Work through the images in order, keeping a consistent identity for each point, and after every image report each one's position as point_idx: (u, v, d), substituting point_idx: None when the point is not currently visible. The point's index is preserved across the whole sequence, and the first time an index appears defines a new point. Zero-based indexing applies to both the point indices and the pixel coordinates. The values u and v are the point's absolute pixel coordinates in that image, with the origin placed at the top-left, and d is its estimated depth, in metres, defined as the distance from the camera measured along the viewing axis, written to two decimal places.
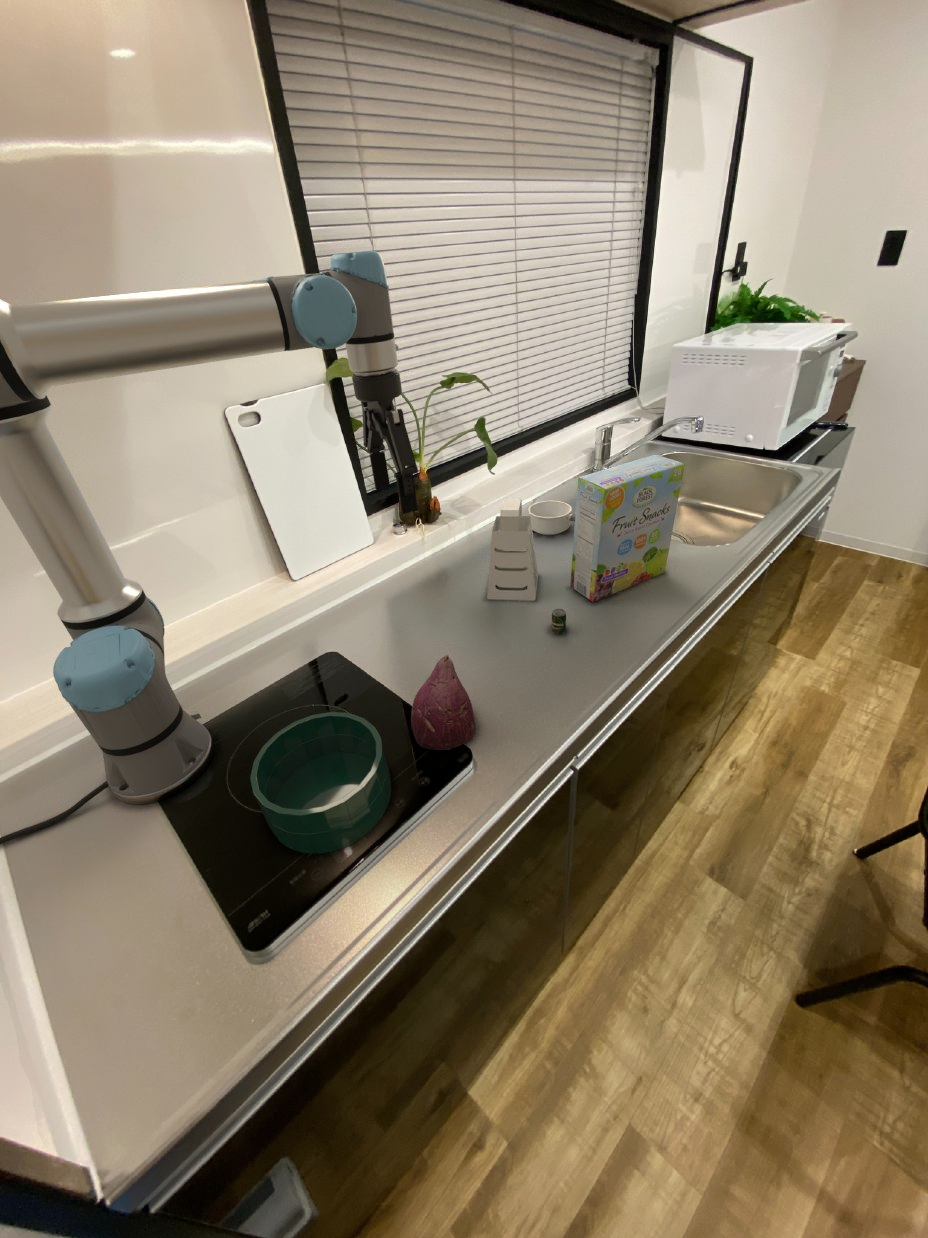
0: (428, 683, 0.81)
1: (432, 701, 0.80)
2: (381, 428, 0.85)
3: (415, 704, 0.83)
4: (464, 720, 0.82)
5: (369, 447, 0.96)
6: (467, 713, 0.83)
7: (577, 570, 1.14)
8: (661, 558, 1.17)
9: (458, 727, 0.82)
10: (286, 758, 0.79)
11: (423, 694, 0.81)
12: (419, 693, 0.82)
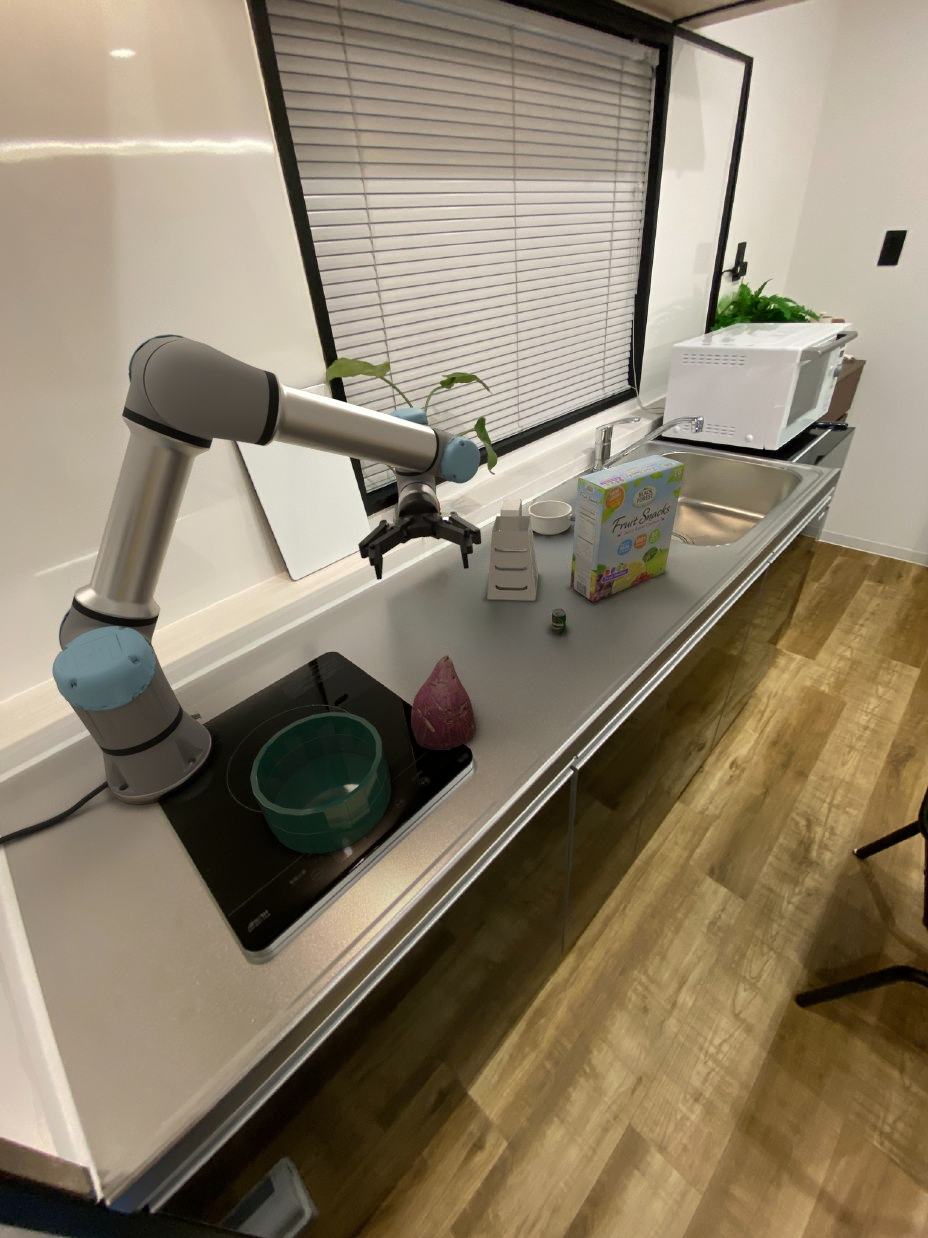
0: (428, 683, 0.81)
1: (432, 701, 0.80)
2: None
3: (415, 704, 0.83)
4: (464, 720, 0.82)
5: (378, 541, 0.87)
6: (467, 713, 0.83)
7: (577, 570, 1.14)
8: (661, 558, 1.17)
9: (458, 727, 0.82)
10: (286, 758, 0.79)
11: (423, 694, 0.81)
12: (419, 693, 0.82)
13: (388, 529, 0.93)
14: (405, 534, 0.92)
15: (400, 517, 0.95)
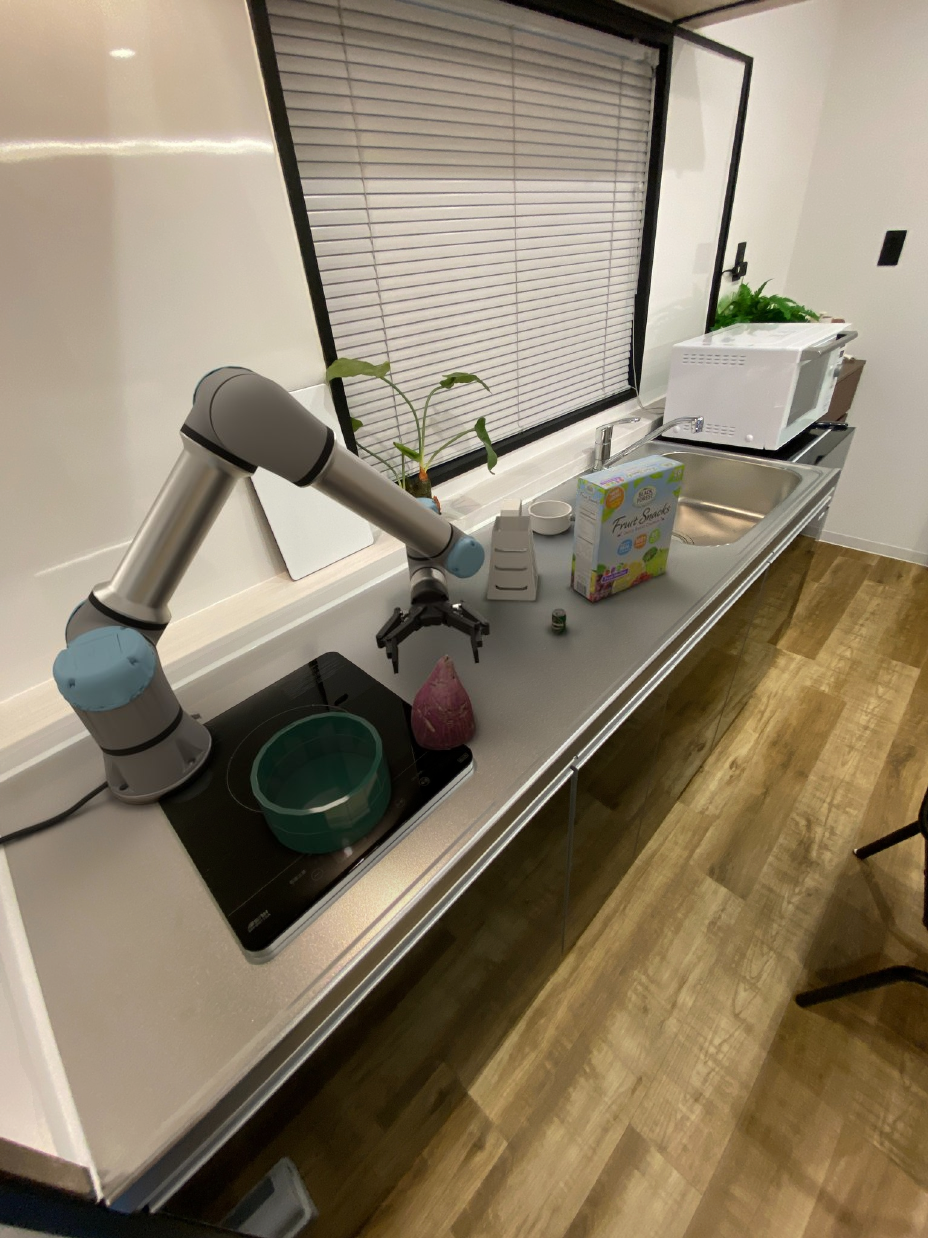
0: (428, 683, 0.81)
1: (432, 701, 0.80)
2: None
3: (415, 704, 0.83)
4: (464, 720, 0.82)
5: (394, 634, 0.94)
6: (467, 713, 0.83)
7: (577, 570, 1.14)
8: (661, 558, 1.17)
9: (458, 727, 0.82)
10: (286, 758, 0.79)
11: (423, 694, 0.81)
12: (419, 693, 0.82)
13: (402, 617, 1.00)
14: (418, 622, 0.99)
15: (413, 604, 1.02)
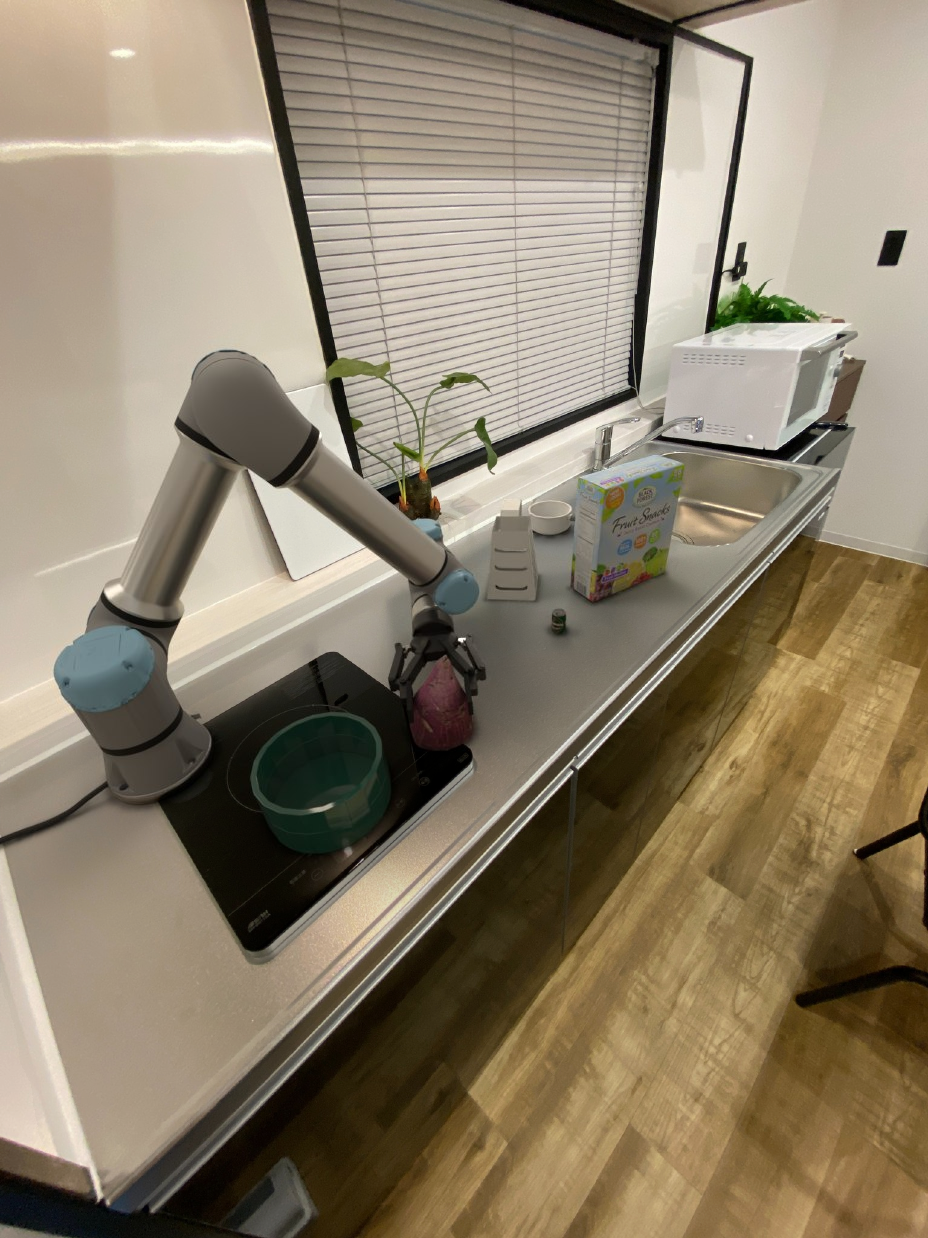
0: (426, 684, 0.81)
1: (430, 701, 0.80)
2: (450, 644, 0.90)
3: None
4: (462, 721, 0.82)
5: (407, 675, 0.84)
6: (466, 713, 0.82)
7: (577, 570, 1.14)
8: (661, 558, 1.17)
9: (456, 728, 0.81)
10: (286, 758, 0.79)
11: (422, 695, 0.81)
12: (417, 693, 0.82)
13: (405, 653, 0.91)
14: None
15: (415, 636, 0.93)
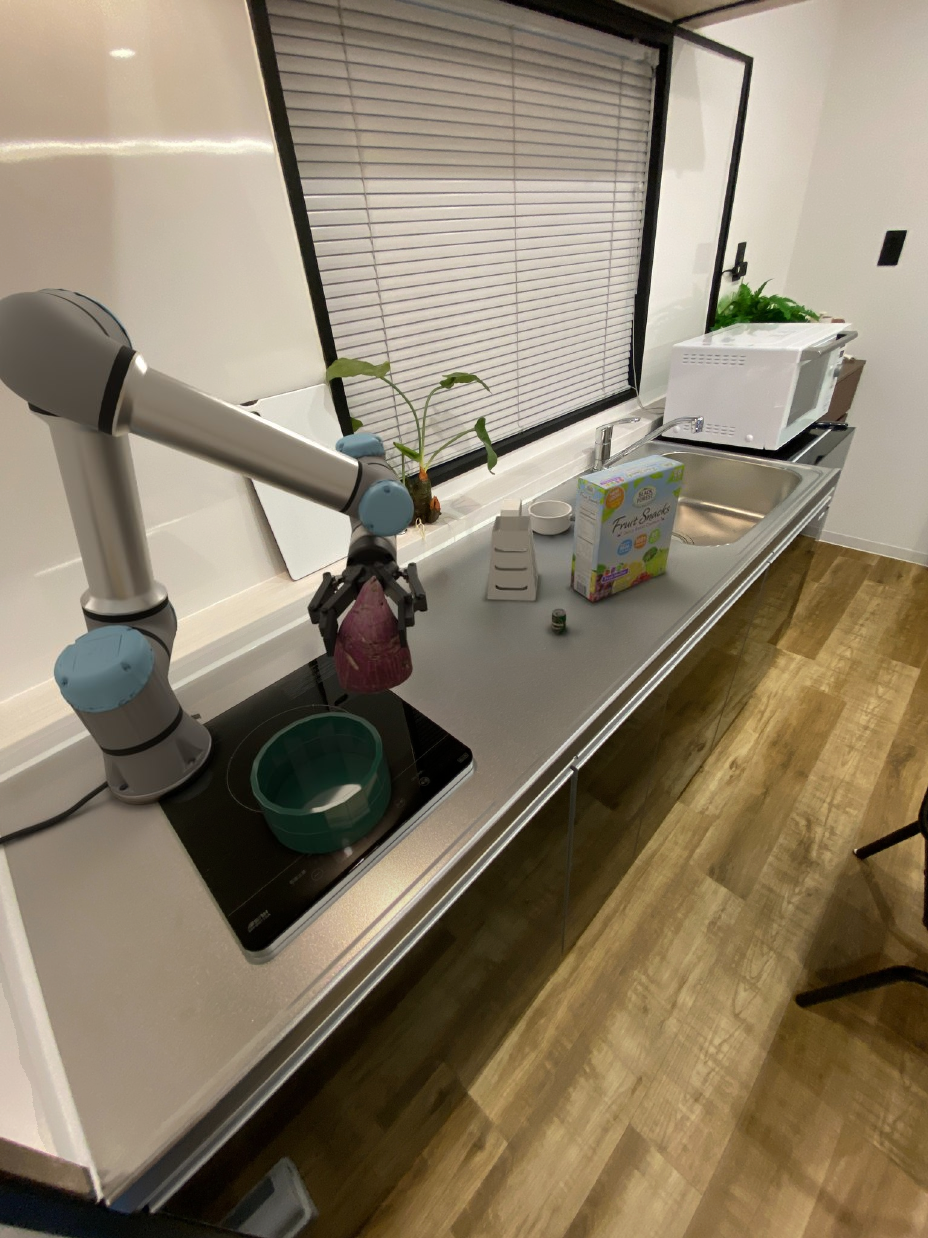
0: (351, 611, 0.67)
1: (355, 631, 0.66)
2: None
3: (337, 637, 0.69)
4: (395, 656, 0.68)
5: (331, 603, 0.70)
6: (400, 648, 0.68)
7: (577, 570, 1.14)
8: (661, 558, 1.17)
9: (387, 664, 0.67)
10: (286, 758, 0.79)
11: (345, 624, 0.67)
12: (341, 624, 0.68)
13: (335, 583, 0.76)
14: None
15: (348, 566, 0.79)
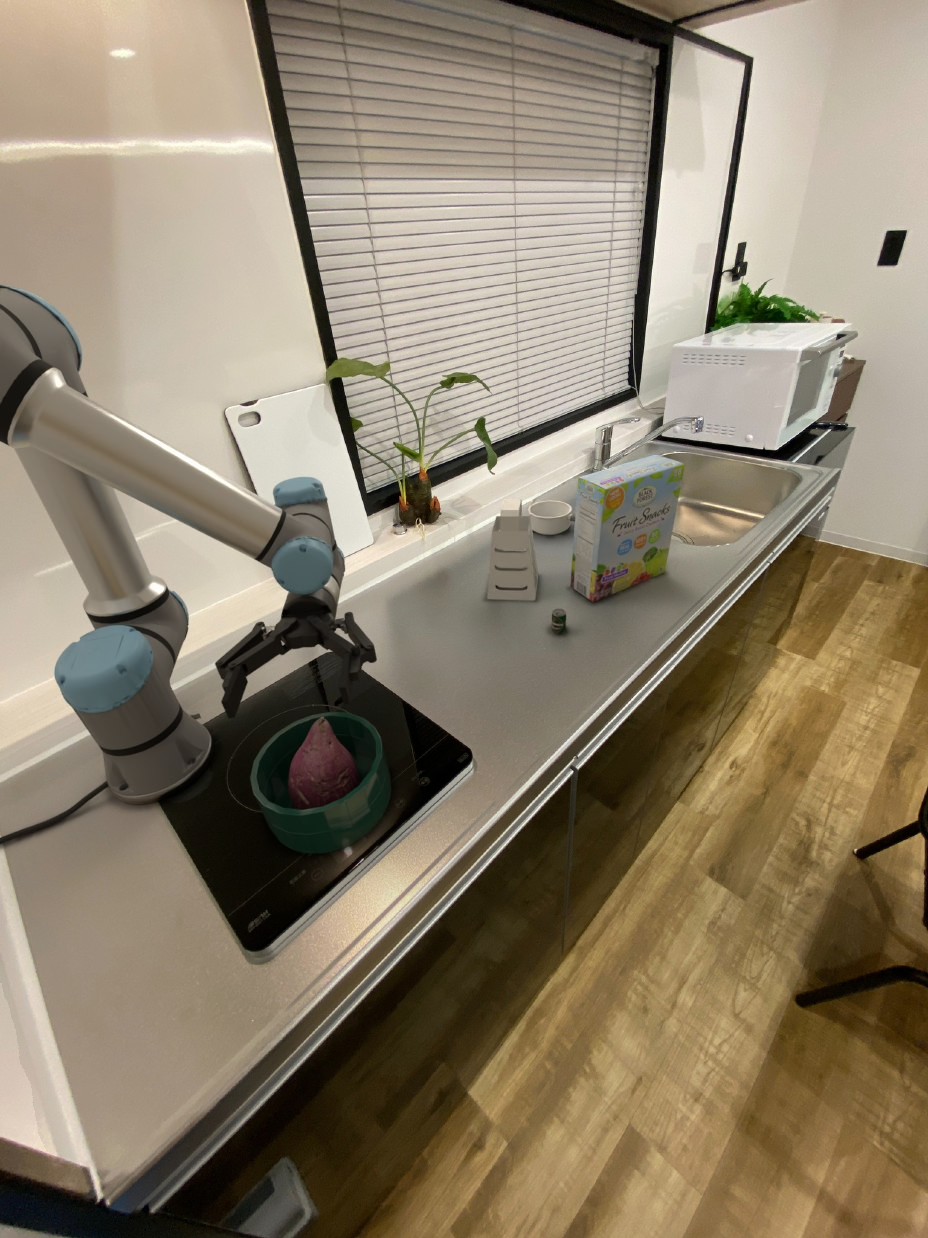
0: (301, 749, 0.72)
1: (304, 770, 0.70)
2: None
3: (289, 771, 0.73)
4: (344, 790, 0.72)
5: (241, 660, 0.68)
6: (348, 781, 0.73)
7: (577, 570, 1.14)
8: (661, 558, 1.17)
9: (336, 798, 0.72)
10: (286, 758, 0.79)
11: (296, 762, 0.72)
12: (293, 759, 0.73)
13: (264, 635, 0.74)
14: (285, 643, 0.73)
15: (283, 618, 0.76)
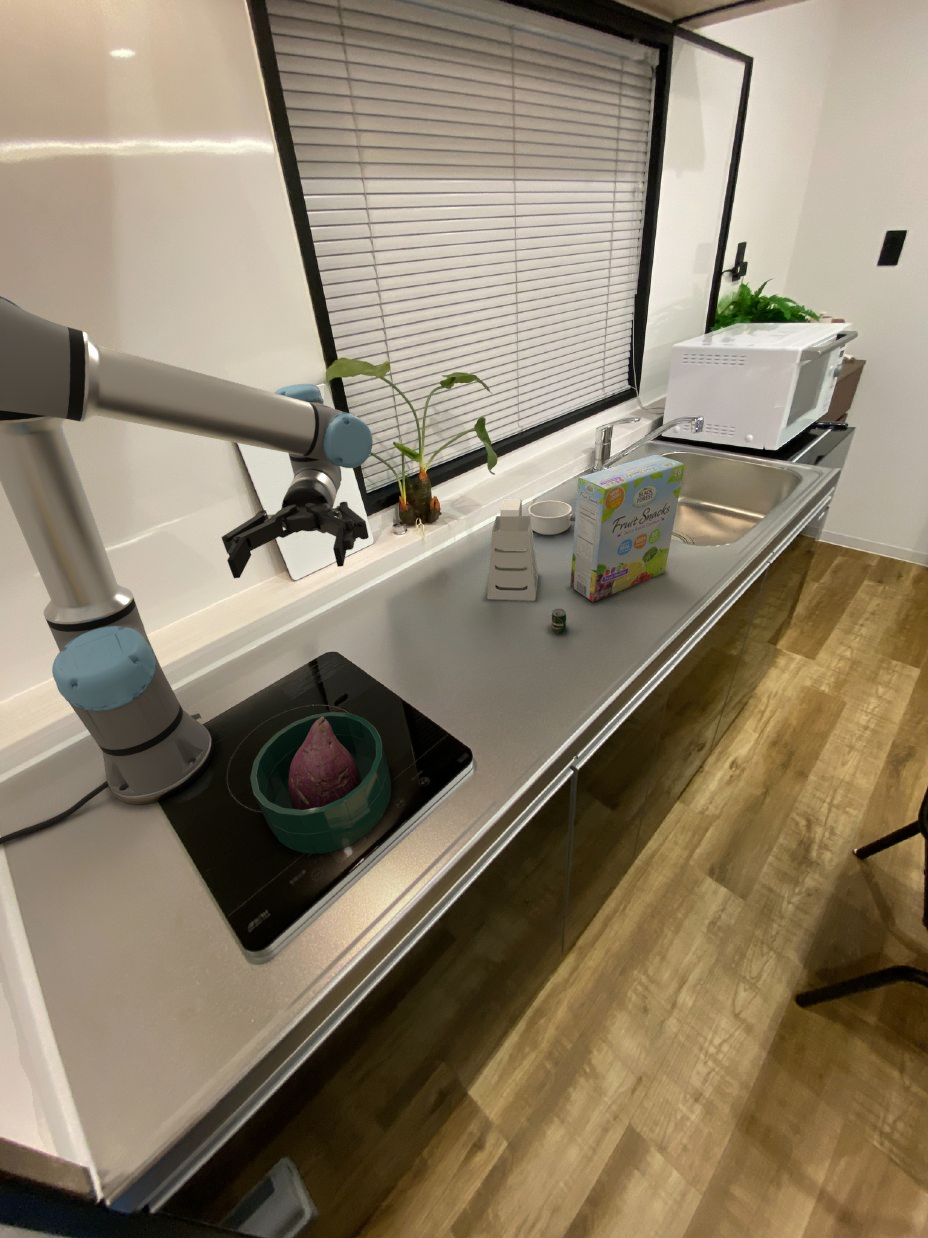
0: (301, 749, 0.72)
1: (304, 770, 0.70)
2: None
3: (289, 771, 0.73)
4: (344, 790, 0.72)
5: (245, 534, 0.75)
6: (348, 781, 0.73)
7: (577, 570, 1.14)
8: (661, 558, 1.17)
9: (336, 798, 0.72)
10: (286, 758, 0.79)
11: (296, 762, 0.72)
12: (293, 759, 0.73)
13: (266, 521, 0.81)
14: (285, 527, 0.80)
15: (283, 507, 0.83)
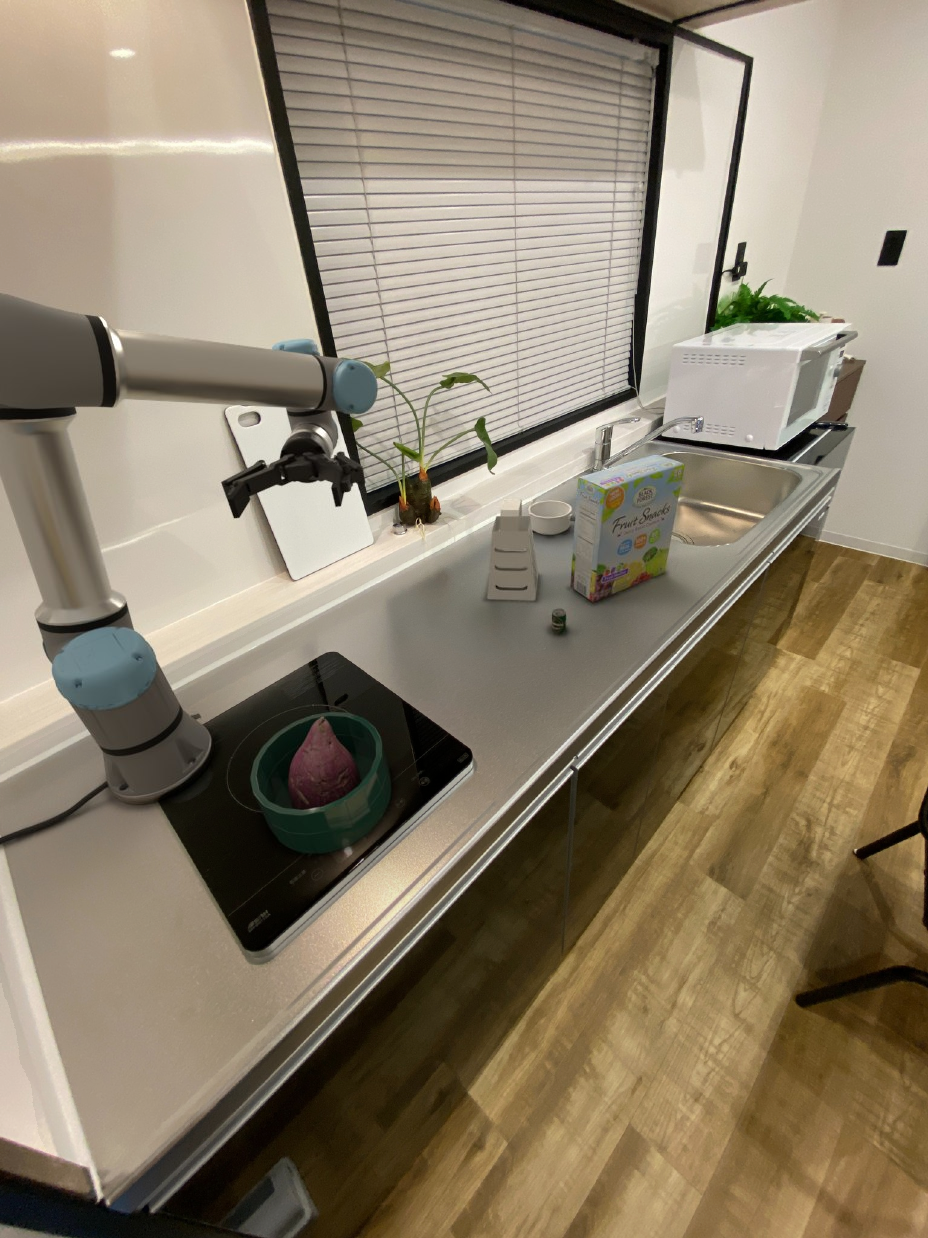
0: (301, 749, 0.72)
1: (304, 770, 0.70)
2: None
3: (289, 771, 0.73)
4: (344, 790, 0.72)
5: (244, 479, 0.76)
6: (348, 781, 0.73)
7: (577, 570, 1.14)
8: (661, 558, 1.17)
9: (336, 798, 0.72)
10: (286, 758, 0.79)
11: (296, 762, 0.72)
12: (293, 759, 0.73)
13: None
14: (283, 475, 0.81)
15: (281, 458, 0.84)
